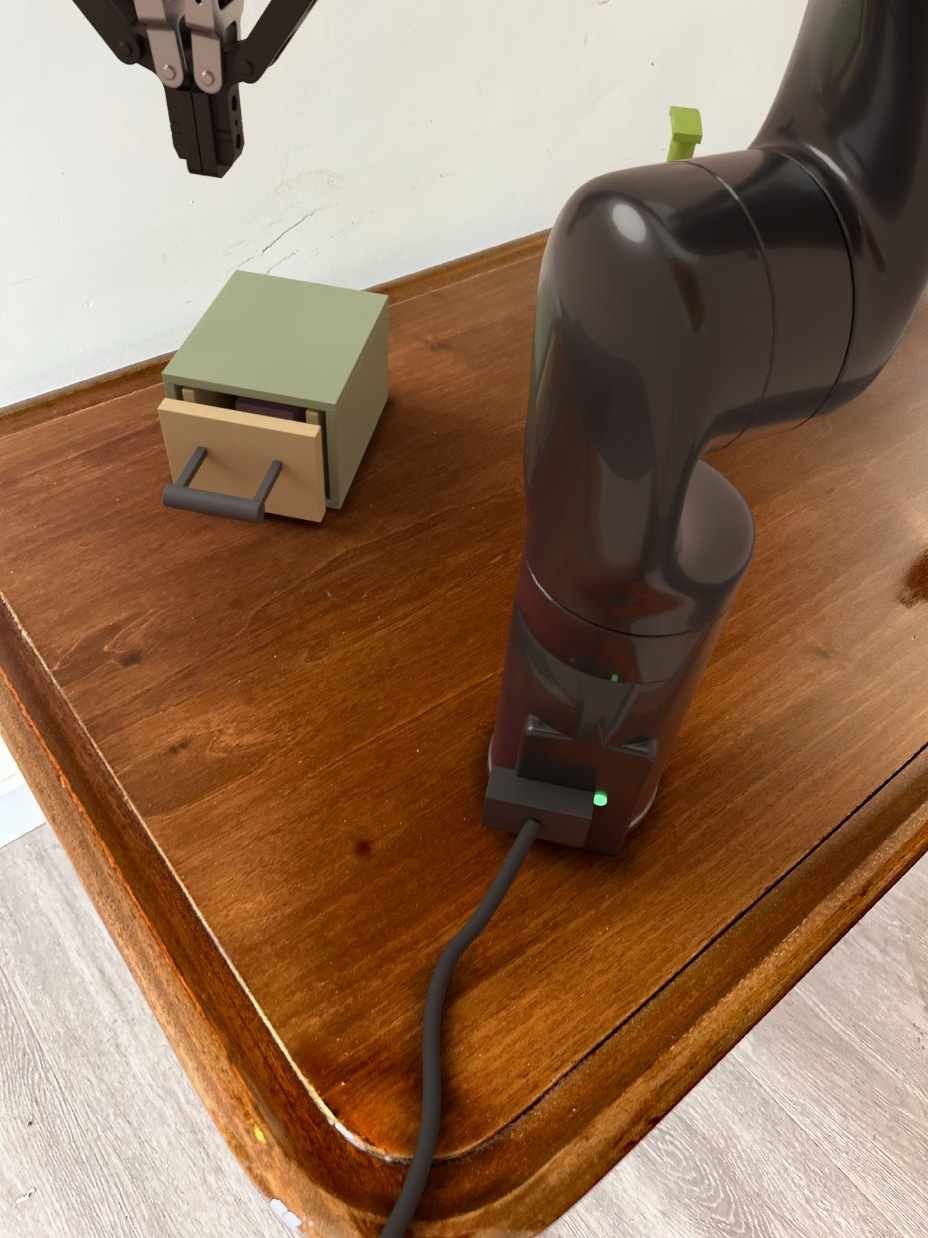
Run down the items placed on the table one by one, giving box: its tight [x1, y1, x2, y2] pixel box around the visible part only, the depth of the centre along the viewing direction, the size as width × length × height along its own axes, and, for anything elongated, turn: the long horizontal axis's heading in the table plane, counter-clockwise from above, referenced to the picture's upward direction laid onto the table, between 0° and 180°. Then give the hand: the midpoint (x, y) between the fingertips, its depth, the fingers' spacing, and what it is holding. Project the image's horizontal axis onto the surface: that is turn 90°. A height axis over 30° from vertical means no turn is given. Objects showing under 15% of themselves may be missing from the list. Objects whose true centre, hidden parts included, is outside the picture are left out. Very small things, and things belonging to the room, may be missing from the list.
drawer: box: [157, 386, 329, 525], centre depth 63 cm, size 18×10×7 cm, turn 169°
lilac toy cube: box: [235, 396, 308, 423], centre depth 66 cm, size 4×4×4 cm
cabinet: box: [161, 269, 390, 510], centre depth 67 cm, size 13×11×9 cm
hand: (213, 168), depth 44 cm, fingers closed
